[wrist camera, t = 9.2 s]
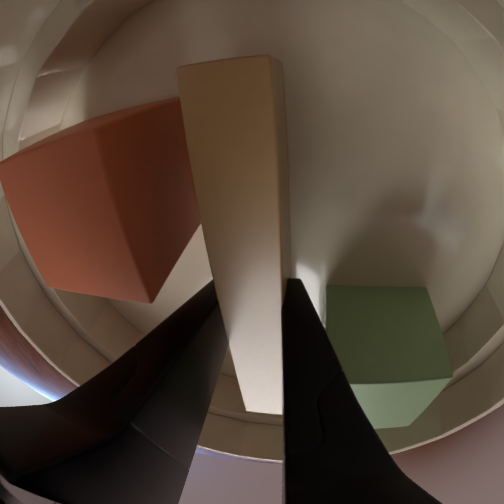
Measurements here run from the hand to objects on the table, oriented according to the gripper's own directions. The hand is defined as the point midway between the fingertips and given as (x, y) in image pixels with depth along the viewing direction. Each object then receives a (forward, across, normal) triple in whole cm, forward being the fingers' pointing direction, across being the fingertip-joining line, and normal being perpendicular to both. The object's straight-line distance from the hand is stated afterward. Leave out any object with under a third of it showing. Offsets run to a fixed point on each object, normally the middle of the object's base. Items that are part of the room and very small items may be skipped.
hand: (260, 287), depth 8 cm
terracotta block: (+2, +4, -3) cm, 5 cm away
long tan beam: (+1, 0, 0) cm, 1 cm away
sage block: (+2, -4, +3) cm, 5 cm away
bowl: (+2, 0, 0) cm, 2 cm away
